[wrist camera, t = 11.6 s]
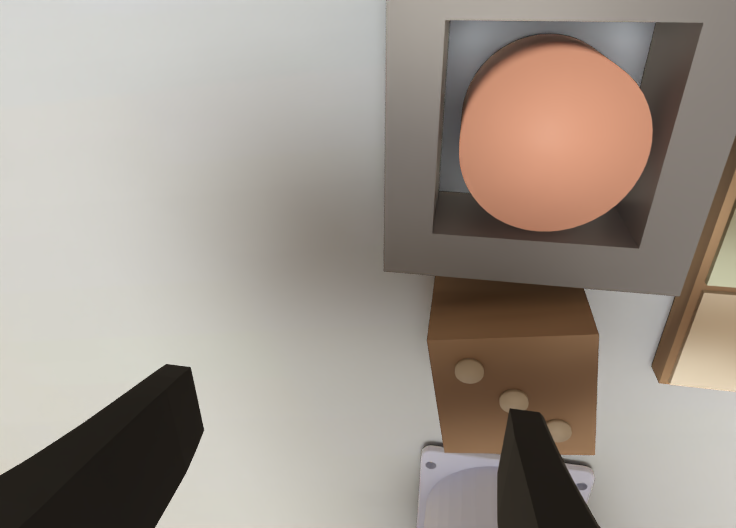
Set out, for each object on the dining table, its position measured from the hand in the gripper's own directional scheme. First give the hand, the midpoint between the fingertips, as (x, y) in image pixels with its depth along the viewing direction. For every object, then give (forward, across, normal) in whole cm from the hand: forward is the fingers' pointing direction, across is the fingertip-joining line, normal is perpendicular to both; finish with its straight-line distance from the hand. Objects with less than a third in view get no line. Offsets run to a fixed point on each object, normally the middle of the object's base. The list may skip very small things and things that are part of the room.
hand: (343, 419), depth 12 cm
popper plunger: (+9, -4, -5) cm, 11 cm away
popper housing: (+10, -4, -5) cm, 12 cm away
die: (+10, -4, +3) cm, 11 cm away
